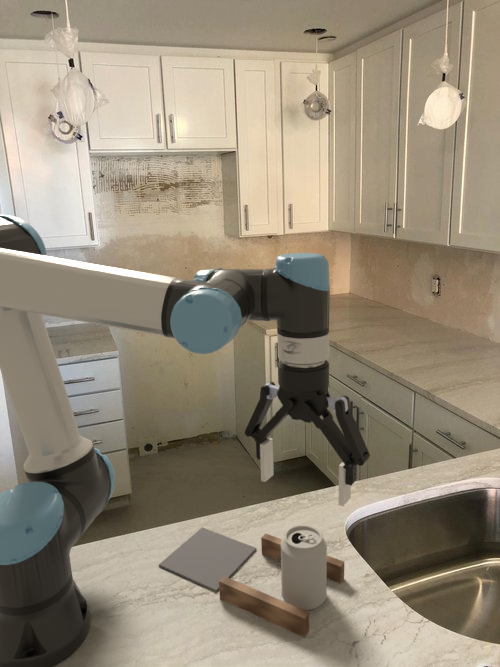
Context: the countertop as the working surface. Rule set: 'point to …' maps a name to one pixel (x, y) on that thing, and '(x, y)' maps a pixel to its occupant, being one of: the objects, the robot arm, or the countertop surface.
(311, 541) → the can
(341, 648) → the countertop surface
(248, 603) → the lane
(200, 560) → the mat
